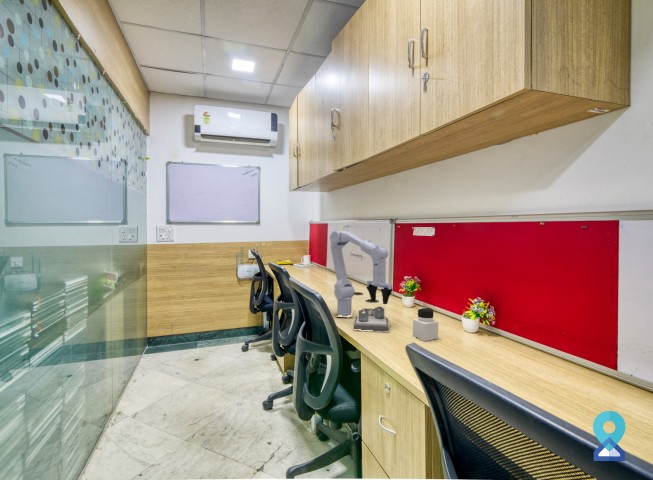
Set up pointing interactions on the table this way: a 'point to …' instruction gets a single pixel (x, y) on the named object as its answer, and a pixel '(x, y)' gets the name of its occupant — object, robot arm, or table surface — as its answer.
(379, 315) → the cylinder
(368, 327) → the scale
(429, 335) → the medicine bottle
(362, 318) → the weight
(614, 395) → the table surface
